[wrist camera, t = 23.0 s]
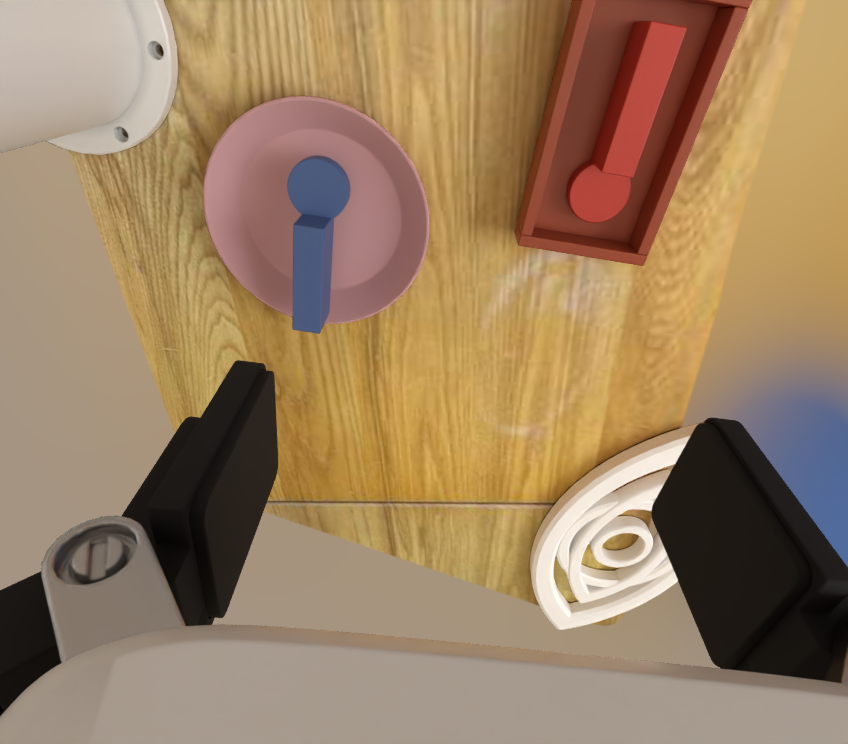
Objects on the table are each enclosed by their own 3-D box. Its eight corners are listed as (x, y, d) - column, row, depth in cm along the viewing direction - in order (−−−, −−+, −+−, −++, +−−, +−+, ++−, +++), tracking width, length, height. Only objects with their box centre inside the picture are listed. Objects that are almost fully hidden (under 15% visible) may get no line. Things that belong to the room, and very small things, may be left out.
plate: (173, 134, 32) (157, 140, 30) (390, 58, 29) (386, 59, 27) (273, 330, 39) (265, 343, 38) (455, 285, 37) (455, 297, 35)
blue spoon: (291, 150, 30) (276, 161, 28) (352, 160, 30) (343, 172, 28) (290, 306, 36) (278, 327, 33) (342, 315, 36) (333, 336, 34)
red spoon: (614, 222, 33) (627, 238, 30) (559, 213, 33) (567, 228, 30) (683, 30, 27) (706, 30, 25) (616, 18, 27) (632, 17, 25)
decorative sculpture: (771, 432, 42) (781, 445, 41) (643, 630, 58) (648, 643, 57) (588, 408, 42) (592, 420, 40) (511, 614, 58) (513, 627, 57)
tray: (632, 251, 34) (643, 266, 32) (514, 231, 34) (517, 245, 32) (732, -7, 27) (757, -10, 24) (581, -35, 26) (591, -40, 24)
